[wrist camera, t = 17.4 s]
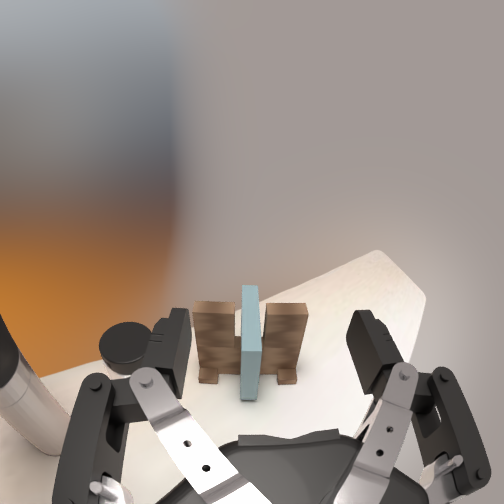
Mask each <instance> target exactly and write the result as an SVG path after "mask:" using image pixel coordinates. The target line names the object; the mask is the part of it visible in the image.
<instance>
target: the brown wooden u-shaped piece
mask: <svg viewBox="0 0 504 504" xmlns="http://www.w3.org/2000/svg"><path fill="white" fill-rule="evenodd" d="M192 313H193V321H194V329H195V337H196V344H197V352H198V358H199V365H200V370H199V377H198V378H199V383H209V384H217V382H218V373H219V374H241V336H235V302H209V301H195V303H194V307H193V312H192ZM308 315H309V314H308V310H307V307H306V303H266V312H265V322H264V332H263V337H261V343H262V356H261V365H260V374H277V380H278V385H280V384H296V381H297V375H296V365H297V361H298V357H299V353H300V349H301V345H302V341H303V337H304V332H305V328H306V324H307V319H308Z"/></svg>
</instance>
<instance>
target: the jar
mask: <svg viewBox="0 0 504 504" xmlns="http://www.w3.org/2000/svg"><path fill="white" fill-rule="evenodd" d="M151 335H152V333H151V331H150V330H149V329H148V328H147V327H146V326H144V325H142V324H139V323H136V322H124V323H119V324H117V325H114V326H112V327H111V328H109V329H108V330H107V331H106V332H105V333H104V334H103V335H102V337H101V339H100V342H99V350H100V353H101V356H102V358H103V360H104V361H103V365H104V367H105V369H106V371H107V373H108V375H109V377H110V378H111V380H114V379H123V378H128V377H130V376H131V375H132V374H133V373H134V372H135V371H136V370H138V369H140V367H141V364H142V361H143V358H144V355H145V352H146V349H147V346H148V343H149V340H150V337H151Z"/></svg>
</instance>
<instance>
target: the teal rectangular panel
mask: <svg viewBox="0 0 504 504" xmlns="http://www.w3.org/2000/svg"><path fill="white" fill-rule="evenodd" d="M258 298H259V297H258V286H253V285H251V286H250V285H242V313H241V375H240V399H245V400H257V392H258V383H259V374H260V365H261V356H262V343H261V327H260V312H259V299H258Z"/></svg>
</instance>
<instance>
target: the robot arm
mask: <svg viewBox="0 0 504 504" xmlns="http://www.w3.org/2000/svg"><path fill="white" fill-rule="evenodd" d="M191 341H192V332H191V325H190V317H189V310H188V309H184V308H172V310H171V313H170V316H169V318H161V319H160V320H159V321H158V322H157V323H156V324H155V326H154V328H153V331H152V335H151V337H150V340H149V343H148V346H147V349H146V352H145V355H144V358H143V361H142V364H141V367H140V369H138V370H136V371H135V372H134V373H133V374H132V375H131V376H130V377H128V378H123V379H114V380H110V379H109V378H108V376H106V375H105V374H103V373H92V374H90V375H88V376H87V377H86V378H85V379H84V380H83V382H82V384H81V387H80V390H79V393H78V396H77V399H76V402H75V405H74V408H73V412H72V415H71V417H70V416H69V415H68V414H67V413H66V412H65V411H64V409H63V408H62V407H61V406H60V405H59V403H58V402H57V401H56V400H55V399H54V397H53V396H52V395H51V394H50V392H49V391H48V390H47V389H46V387H45V386H44V385H43V383H42V382H41V381H40V379H39V378H38V377H37V375H36V374H35V372H34V371H33V369H32V368H31V367H30V365H29V364H28V362H27V361H26V359H25V358H24V356H23V355H22V353H21V352H20V350H19V348H18V347H17V345H16V343H15V342H14V340H13V338H12V337H11V335H10V333H9V331H8V329H7V327H6V325H5V323H4V321H3V319H2V317H1V315H0V416H1V417H3V418H4V419H5V420H6V421H7V422H8V423H9V424H10V425H11V426H12V427H13V428H14V429H15V430H16V431H18V432H19V433H20V434H21V435H22V436H23V437H24V438H26V439H27V440H28V441H29V442H30V443H32V444H33V445H34V446H35V447H37V448H38V449H39V450H41V451H42V452H43V453H45V454H48V455H52V456H57V455H60V460H59V464H58V469H57V474H56V479H55V484H54V489H53V495H52V504H134V503H133V497H132V494H131V492H130V491H129V490H128V489H127V488H126V487H125V486H123V485H121V475H122V467H123V460H124V453H125V447H126V440H127V434H128V429H129V423H132V422H141V421H148V420H149V422H150V424H151V425H152V427H153V429H154V430H155V432H156V434H157V435H158V437H159V438H160V440H161V442H162V443H163V445H164V446H165V448H166V449H167V451H168V452H169V454H170V455H171V457H172V458H173V460H174V461H175V463H176V464H177V466H178V467H179V468H180V470H181V471H182V473H183V474H184V475H185V478H184V479H183V480H182V481H181V482H180V483H179V484H178V485H176V486H175V487H174V488H173V489H172V490H171V491H170V492H169V493H167V494H166V495H165V496H164V497H163V498H162V499H160V500H159V501H158V502H157V503H156V504H450V503H452V502H454V501H457V500H459V499H461V498H463V497H465V496H467V495H469V494H471V493H473V492H475V491H477V490H479V489H481V488H482V487H484V486H485V485H486V484H487V483H488V481H489V480H490V477H491V468H490V464H489V461H488V457H487V454H486V451H485V448H484V445H483V443H482V439H481V437H480V434H479V431H478V429H477V426H476V423H475V421H474V418H473V416H472V413H471V411H470V409H469V406H468V404H467V402H466V399H465V397H464V395H463V393H462V390H461V388H460V386H459V384H458V382H457V380H456V378H455V376H454V374H453V372H452V371H451V370H449V369H448V368H446V367H438V368H436V369H435V370H434V371H433V372H432V374H430V373H420V372H417V370H416V368H415V367H414V366H412V365H411V364H409V363H406V362H404V361H403V359H402V357H401V354H400V352H399V350H398V348H397V346H396V344H395V343H394V341H393V339H392V337H391V335H390V333H389V331H388V329H387V327H386V325H384V324H383V323H382V322H381V321H380V320H379V319H375V318H374V316H373V314H372V312H371V311H370V310H356V311H355V312H354V313H353V316H352V319H351V322H350V325H349V328H348V331H347V334H346V342H347V345H348V348H349V351H350V354H351V357H352V360H353V362H354V365H355V368H356V371H357V374H358V377H359V380H360V383H361V386H362V389H363V392H364V395H367V394H373V396H374V398H373V399H372V401H371V403H370V405H369V408H368V410H367V412H366V414H365V416H364V418H363V420H362V422H361V424H360V427H359V428H358V430H357V432H356V433H355V435H354V436H353V438H352V437H349V436H346V435H340V434H339V430H338V429H331V430H323V431H315V432H312V433H309V434H306V435H303V436H300V437H297V438H293V439H285V438H279V437H273V436H268V435H238V441H233V442H230V443H227V444H225V445H222V446H220V447H219V448H217V447H216V446H215V445H214V444H213V443H212V441H211V440H210V439H209V438H208V436H207V435H206V434H205V433H204V431H203V430H202V429H201V427H200V426H199V425H198V423H197V422H196V421H195V419H194V418H193V417H192V415H191V414H190V413H189V412H188V410H187V409H184V408H183V407H182V406H181V404H180V403H179V401H178V400H177V399H182V393H183V387H184V381H185V375H186V370H187V364H188V358H189V353H190V347H191ZM436 406H437V409H438V411H439V414H440V417H441V422H440V419H439V416H438V413H437V411H436V408H435V407H436ZM410 421H412V424H413V428H414V431H415V434H416V438H417V441H418V445H419V448H420V452H421V456H422V460H423V464H424V470H423V471H422V474H421V479H420V480H419V484H418V483H417V482H415V481H414V480H412V479H411V478H409V477H408V476H407V475H405V474H404V473H402V472H401V471H399V470H398V469H397V468H395V467H394V464H395V462H396V460H397V457H398V455H399V452H400V450H401V447H402V444H403V441H404V439H405V436H406V433H407V430H408V427H409V424H410Z"/></svg>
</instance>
